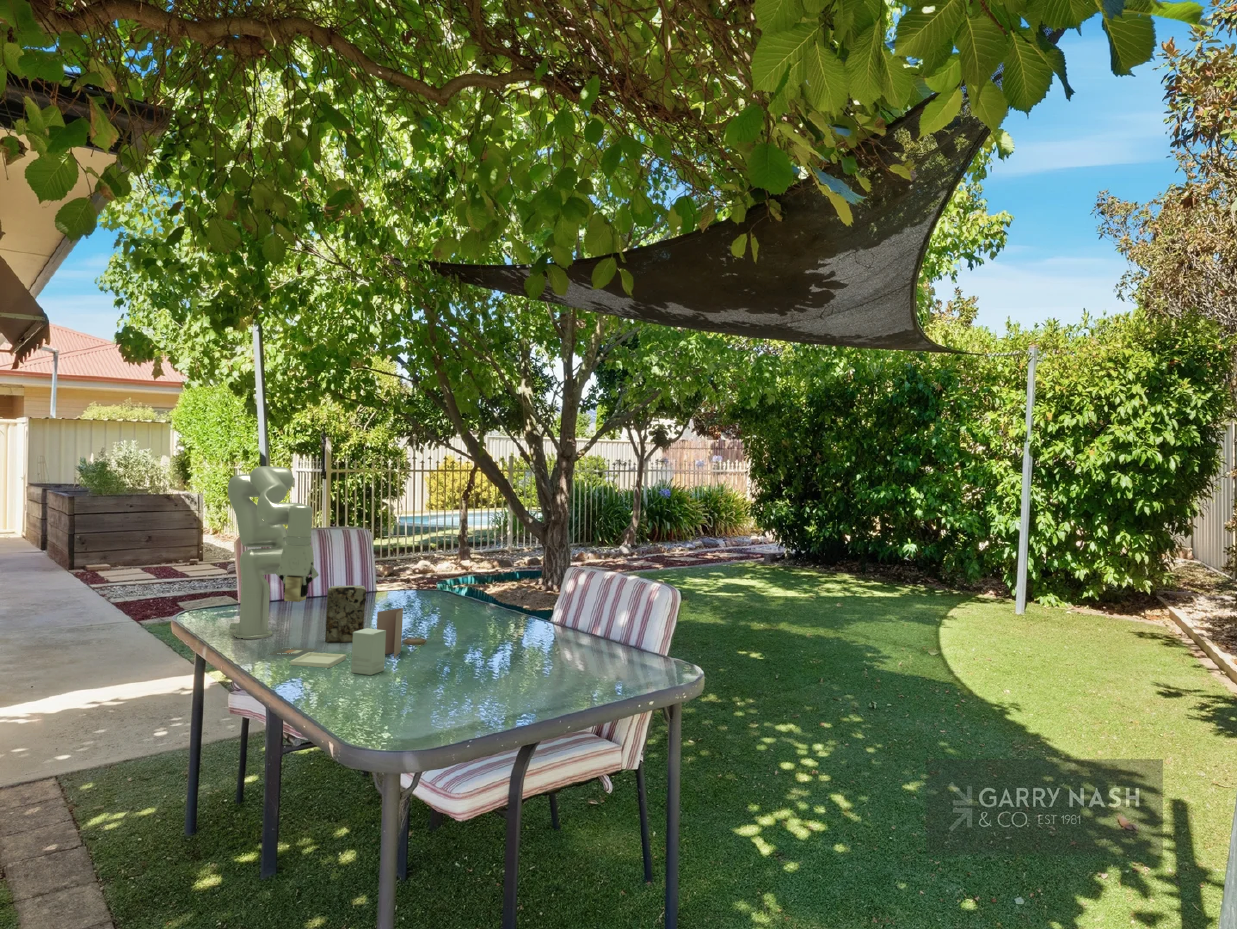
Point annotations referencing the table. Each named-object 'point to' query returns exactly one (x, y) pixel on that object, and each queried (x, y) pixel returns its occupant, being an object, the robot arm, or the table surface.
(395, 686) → the table surface
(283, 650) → the tile
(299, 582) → the beech block
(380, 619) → the greeting card
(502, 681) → the table surface
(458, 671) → the table surface
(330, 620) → the stone block
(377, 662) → the supplement box
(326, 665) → the cream tray
